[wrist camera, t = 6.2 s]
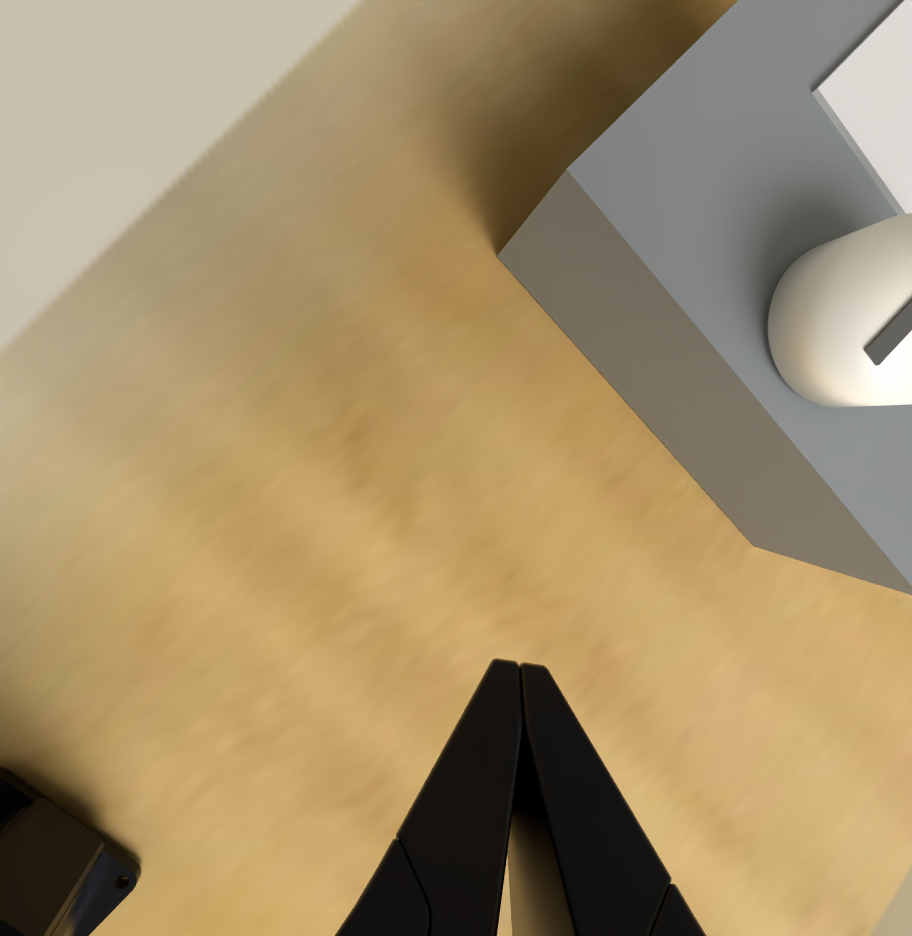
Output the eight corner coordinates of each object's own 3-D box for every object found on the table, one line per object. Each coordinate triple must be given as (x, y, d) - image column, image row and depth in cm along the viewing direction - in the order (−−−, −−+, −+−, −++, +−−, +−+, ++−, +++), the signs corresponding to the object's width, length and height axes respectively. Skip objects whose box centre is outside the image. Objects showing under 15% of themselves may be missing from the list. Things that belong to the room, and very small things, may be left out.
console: (753, 546, 23) (928, 600, 16) (496, 256, 20) (569, 165, 13) (935, 348, 24) (1179, 316, 17) (712, 43, 21) (891, -152, 14)
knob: (735, 437, 19) (908, 443, 13) (655, 344, 18) (800, 303, 12) (818, 349, 19) (1025, 314, 13) (743, 253, 18) (927, 170, 12)
